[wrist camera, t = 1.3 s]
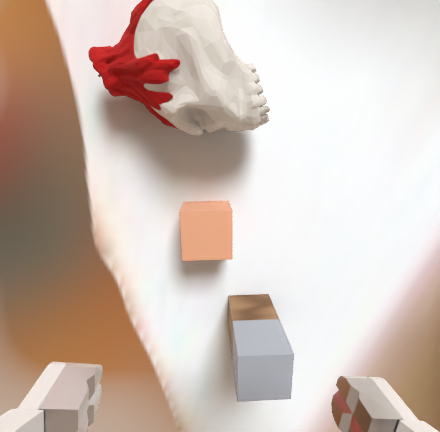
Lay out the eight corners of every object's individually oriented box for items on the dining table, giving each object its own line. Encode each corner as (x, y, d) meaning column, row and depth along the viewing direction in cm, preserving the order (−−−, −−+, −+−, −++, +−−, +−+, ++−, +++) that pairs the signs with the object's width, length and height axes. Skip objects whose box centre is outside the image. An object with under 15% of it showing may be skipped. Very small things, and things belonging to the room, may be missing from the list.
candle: (264, 130, 28) (126, 143, 29) (259, 5, 25) (107, 26, 27) (274, 125, 19) (79, 144, 21) (268, -67, 16) (42, -30, 18)
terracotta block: (228, 200, 30) (232, 210, 25) (228, 242, 32) (232, 259, 27) (183, 201, 30) (179, 211, 25) (186, 243, 31) (182, 260, 26)
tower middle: (279, 319, 29) (293, 354, 24) (277, 358, 30) (290, 398, 25) (232, 320, 28) (237, 356, 24) (232, 360, 30) (237, 401, 25)
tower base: (268, 294, 33) (279, 319, 29) (267, 328, 35) (277, 358, 30) (228, 295, 33) (232, 320, 28) (228, 330, 34) (232, 360, 30)
